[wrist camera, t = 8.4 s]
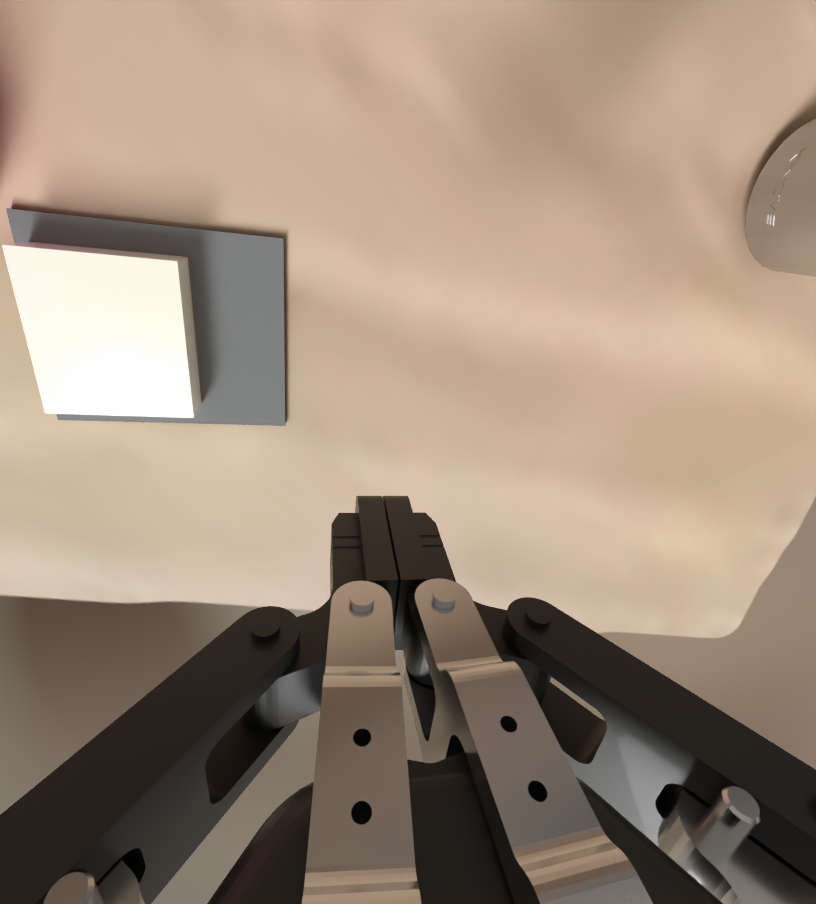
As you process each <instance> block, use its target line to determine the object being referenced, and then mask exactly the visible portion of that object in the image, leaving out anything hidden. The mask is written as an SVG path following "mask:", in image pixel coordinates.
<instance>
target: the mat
mask: <svg viewBox="0 0 816 904" xmlns="http://www.w3.org/2000/svg"><path fill="white" fill-rule="evenodd" d="M6 210H7V214H8V218H9V222H10V226H11V230H12V234H13V238H14V243H19V242H27V241H30V242H41V243H51V244H61V245H72V246H82V247H92V248H103V249H113V250H123V251H134V252H144V253H155V254H165V255H175V256H186V257H188V259H189V270H190V280H191V291H192V302H193V312H194V323H195V334H196V344H197V355H198V366H199V376H200V387H201V398H202V404H201V406H200V407H199V409H198V411H197V413H196V415H195V416H194V418H182V417H147V416H113V415H78V414H57V417H58V420H87V421H124V422H162V423H200V424H237V425H275V426H285V330H284V238H277V237H268V236H259V235H250V234H240V233H231V232H222V231H213V230H204V229H194V228H185V227H176V226H167V225H158V224H148V223H139V222H130V221H121V220H111V219H102V218H93V217H84V216H75V215H65V214H56V213H47V212H38V211H29V210H19V209H6Z"/></svg>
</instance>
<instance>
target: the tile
mask: <svg viewBox="0 0 816 904" xmlns="http://www.w3.org/2000/svg"><path fill="white" fill-rule="evenodd" d="M2 248H3V251H4V255H5V259H6V263H7V267H8V271H9V275H10V279H11V282H12V286H13V290H14V294H15V298H16V302H17V306H18V310H19V314H20V317H21V321H22V325H23V329H24V333H25V337H26V341H27V345H28V348H29V352H30V356H31V360H32V364H33V368H34V372H35V376H36V379H37V383H38V387H39V391H40V395H41V399H42V403H43V407H44V411H45V414H78V415H113V416H147V417H182V418H194V416H195V415H196V413H197V411H198V409H199V407H200V406H201V404H202V398H201V387H200V376H199V366H198V355H197V344H196V334H195V323H194V312H193V302H192V291H191V280H190V270H189V259H188V257H186V256H175V255H165V254H155V253H144V252H134V251H123V250H113V249H103V248H92V247H82V246H72V245H61V244H51V243H41V242H30V241H27V242H19V243H11V244H3V245H2Z"/></svg>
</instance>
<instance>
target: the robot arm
mask: <svg viewBox="0 0 816 904" xmlns="http://www.w3.org/2000/svg"><path fill="white" fill-rule="evenodd" d="M745 226H746V239H747V243H748V246H749V250H750V251H751V253H752V255H753V257H754V258H755V260H757V261H758V262H759V263H760V264H761V265H762V266H763V267H766V268H768V269H770V270H773V271H780V272H787V273H793V274H800V275H807V276H814V277H816V119H814V120H812V121H810V122H808V123H807V124H805V125H803V126H802V127H800V128H798V129H797V130H796V131H795V132H794V133H793V134H791V135H790V136H789V137H788V138H787V139H786V140H784V141H783V143H782V144H781V145H780V146H779V147H778V148H777V150H776V151H775V152H774V153H773V154H772V155H771V157H770V158H769V160H768V162H767V163H766V165H765V166H764V168H763V169H762V171H761V173H760V175H759V177H758V179H757V181H756V183H755V185H754V187H753V190H752V193H751V197H750V200H749V203H748V207H747V214H746V221H745ZM330 589H331V596H330V598H329V600H328V601H327V602H326V603H325V604H324V605H323V606H322V607H320V608H319V609H317V610H315V611H313V612H311V613H309V614H305V615H302V616H299V617H296V616H295V615H294V614H293V613H292V612H290V611H289V610H286V609H284V608H281V607H274V606H268V607H261V608H257V609H254V610H252V611H250V612H248V613H246V614H245V615H243V616H242V617H241V618H239V619H238V620H237V621H236V622H235V623H233V624H232V625H231V626H230V627H229V628H227V629H226V630H225V631H224V632H222V633H221V634H220V635H219V636H218V637H216V638H215V639H214V640H213V641H211V642H210V643H209V644H208V645H207V646H206V647H204V648H203V649H202V650H201V651H199V652H198V653H197V654H196V655H194V656H193V657H192V658H191V659H190V660H188V661H187V662H186V663H185V664H183V665H182V666H181V667H180V668H179V669H177V670H176V671H175V672H174V673H173V674H172V675H170V676H169V677H168V678H166V679H165V680H164V681H163V682H162V683H160V684H159V685H158V686H157V687H155V688H154V689H153V690H152V691H151V692H149V693H148V694H147V695H146V696H145V697H143V698H142V699H141V700H140V701H138V702H137V703H136V704H135V705H134V706H132V707H131V708H130V709H129V710H127V711H126V712H125V713H124V714H123V715H121V716H120V717H119V718H118V719H117V720H115V721H114V722H113V723H112V724H111V725H110V726H108V727H107V728H106V729H105V730H103V731H102V732H101V733H99V734H98V735H97V736H96V737H95V738H93V739H92V740H91V741H90V742H89V743H87V744H86V745H85V746H84V747H82V748H81V749H80V750H79V751H78V752H77V753H75V754H74V755H73V756H72V757H70V758H69V759H68V760H67V761H65V762H64V763H63V764H62V765H61V766H59V767H58V768H57V769H56V770H54V771H53V772H52V773H51V774H50V775H48V776H47V777H46V778H45V779H43V780H42V781H41V782H40V783H39V784H37V785H36V786H35V787H34V788H33V789H31V790H30V791H29V792H28V793H27V794H25V795H24V796H23V797H22V798H20V799H19V800H18V801H17V802H15V803H14V804H13V805H12V806H11V807H9V808H8V809H7V810H6V811H5V812H3V813H2V814H1V815H0V904H151V903H152V902H153V901H154V899H155V898H156V897H157V896H158V895H159V893H160V892H161V891H162V890H163V888H164V887H165V886H166V885H167V884H168V882H169V881H170V880H171V879H172V877H173V876H174V875H175V874H176V872H177V871H178V870H179V869H180V868H181V867H182V865H183V864H184V863H185V861H186V860H187V859H188V858H189V857H190V856H191V854H192V853H193V852H194V851H195V850H196V848H197V847H198V846H199V845H200V843H201V842H202V841H203V840H204V839H205V837H206V836H207V835H208V833H210V831H211V830H212V829H213V828H214V826H215V825H216V824H217V823H218V822H219V820H220V819H221V818H222V817H223V815H224V814H225V813H226V812H227V811H228V809H229V808H230V807H231V806H232V805H233V803H234V802H235V801H236V800H237V798H238V797H239V796H240V795H241V794H242V792H243V791H244V790H245V789H246V787H247V786H248V785H249V784H250V783H251V781H252V780H253V779H254V778H255V777H256V775H257V774H258V773H259V772H260V770H261V769H262V768H263V767H264V765H265V764H266V763H267V762H268V760H269V759H270V758H271V757H272V755H274V753H275V752H276V751H277V750H278V749H279V747H280V746H281V745H282V744H283V742H284V741H285V740H286V739H287V738H288V736H289V735H290V734H291V733H292V731H293V730H294V729H295V727H296V725H297V723H298V721H299V719H302V718H304V717H306V716H309V715H311V714H314V713H316V712H318V711H320V720H319V731H318V741H317V752H316V763H315V774H314V782H312V783H310V784H309V785H307V786H305V787H303V788H302V789H300V790H298V791H297V792H296V793H294V794H293V795H292V796H290V797H289V798H288V799H286V800H285V801H284V802H283V803H282V804H281V805H280V806H279V807H278V808H277V809H276V810H275V811H274V812H273V813H272V814H271V816H270V817H269V818H268V819H267V820H266V821H265V823H264V824H263V825H262V826H261V828H260V829H259V830H258V832H257V833H256V835H255V836H254V837H253V839H252V840H251V842H250V843H249V845H248V846H247V847H246V849H245V850H244V852H243V853H242V855H241V856H240V858H239V859H238V860H237V862H236V863H235V865H234V866H233V868H232V869H231V870H230V872H229V873H228V875H227V876H226V878H225V879H224V880H223V882H222V883H221V885H220V886H219V888H218V889H217V891H216V892H215V893H214V895H213V896H212V898H211V899H210V901H209V902H208V903H207V904H816V770H815V769H814V768H812V767H810V766H809V765H807V764H805V763H804V762H802V761H801V760H799V759H797V758H796V757H794V756H792V755H791V754H789V753H788V752H786V751H784V750H783V749H781V748H780V747H778V746H777V745H775V744H773V743H772V742H770V741H768V740H767V739H765V738H764V737H762V736H760V735H759V734H757V733H756V732H754V731H753V730H751V729H749V728H748V727H746V726H744V725H743V724H741V723H740V722H738V721H737V720H735V719H733V718H732V717H730V716H729V715H727V714H725V713H724V712H722V711H721V710H719V709H717V708H716V707H714V706H713V705H711V704H709V703H707V702H706V701H704V700H703V699H701V698H700V697H698V696H697V695H695V694H693V693H692V692H690V691H689V690H687V689H685V688H684V687H682V686H680V685H679V684H677V683H676V682H674V681H672V680H671V679H669V678H667V677H666V676H665V675H663V674H661V673H660V672H658V671H656V670H655V669H653V668H651V667H650V666H649V665H647V664H645V663H644V662H642V661H641V660H639V659H637V658H636V657H634V656H633V655H631V654H629V653H628V652H626V651H625V650H623V649H621V648H620V647H618V646H616V645H615V644H613V643H612V642H610V641H609V640H607V639H605V638H604V637H602V636H601V635H599V634H597V633H596V632H594V631H593V630H591V629H589V628H588V627H586V626H585V625H583V624H581V623H580V622H578V621H577V620H575V619H573V618H572V617H570V616H569V615H567V614H565V613H564V612H562V611H560V610H559V609H557V608H556V607H554V606H552V605H551V604H549V603H547V602H545V601H543V600H540V599H536V598H528V597H526V598H520V599H517V600H515V601H513V602H512V603H511V604H510V605H509V607H508V610H503V609H498V608H494V607H489V606H485V605H482V604H479V603H477V602H475V601H473V600H472V597H471V595H470V594H469V592H468V591H467V590H466V589H465V588H464V587H463V586H461V585H460V584H458V583H456V580H455V577H454V574H453V572H452V569H451V566H450V563H449V560H448V557H447V554H446V551H445V548H444V547H443V543H442V540H441V537H440V534H439V531H438V528H437V525H436V523H435V522H434V521H433V520H432V519H431V518H430V517H429V516H428V515H427V514H426V513H413V512H412V508H411V505H410V501H409V498H408V496H383V497H382V496H357V498H356V509H355V513H339V514H338V515H337V517H336V518H335V520H334V521H333V523H332V531H331V558H330ZM395 650H403V651H404V657H405V664H404V671H403V679H404V683H405V688H406V691H407V695H408V700H409V704H410V708H411V712H412V716H413V719H414V724H415V728H416V732H417V736H418V740H419V744H420V748H421V753H422V762H418V761H412V760H407V749H406V736H405V723H404V709H403V696H402V683H401V676H400V673H397V671H396V659H395ZM551 677H553V678H554V679H556V680H557V681H558V682H560V683H561V684H563V685H564V686H565V687H567V688H568V689H570V690H571V691H572V692H574V693H575V694H576V695H578V696H579V697H580V698H582V699H583V700H585V701H586V702H587V703H589V704H590V705H591V706H593V707H594V708H596V709H597V710H598V711H599V712H600V713H601V714H602V716H603V717H604V719H605V721H604V720H602V719H600V718H598V717H597V716H596V715H594V714H593V713H591V712H590V711H589V710H587V709H586V708H584V707H583V706H582V705H580V704H579V703H578V702H576V701H575V700H573V699H572V698H571V697H570V696H568V695H567V694H566V693H564V692H563V691H561V690H560V689H559V688H557V687H556V686H555V685H553V684H552V683H550V679H551Z"/></svg>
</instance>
